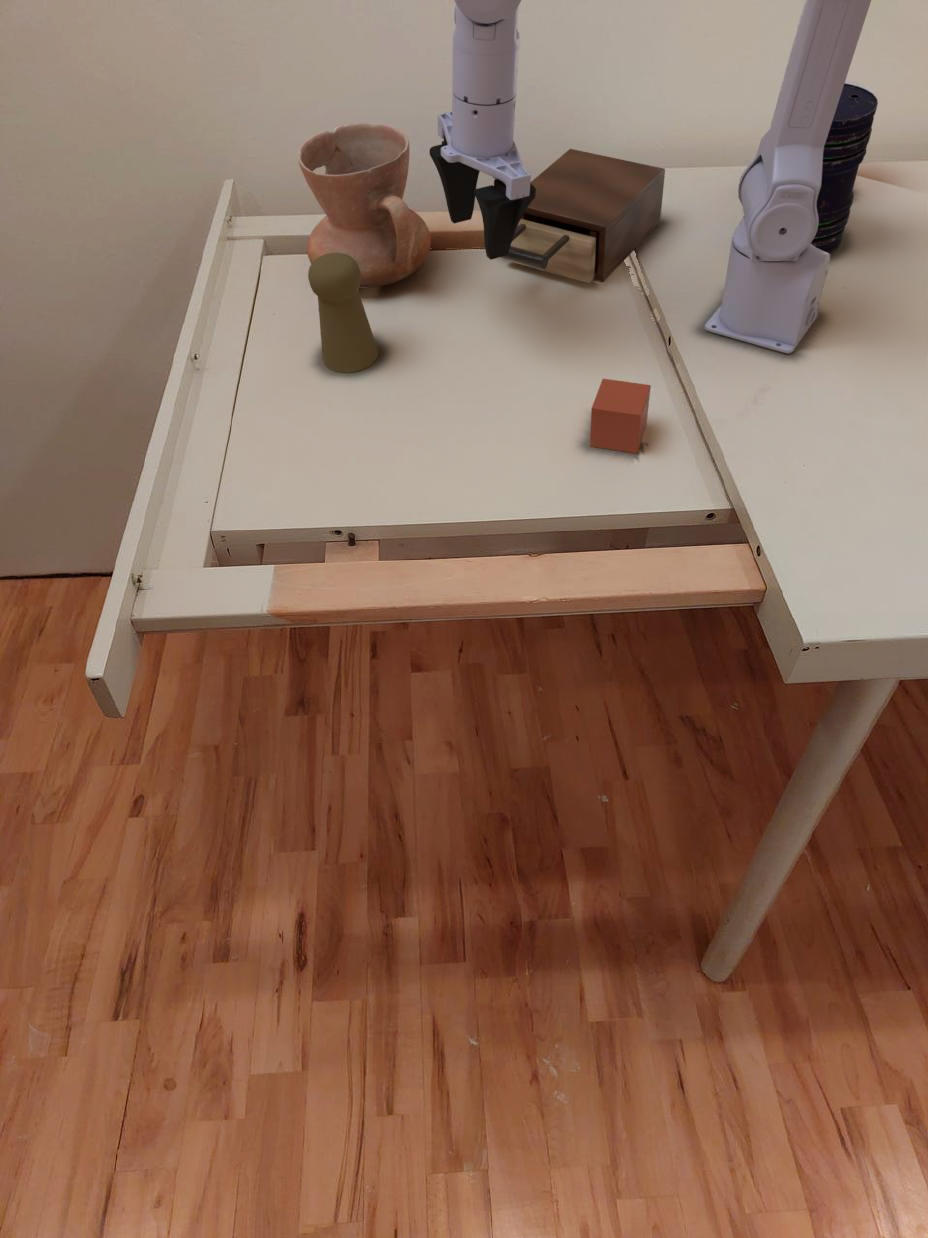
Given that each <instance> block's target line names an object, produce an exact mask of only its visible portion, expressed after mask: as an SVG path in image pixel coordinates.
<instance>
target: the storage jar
mask: <svg viewBox="0 0 928 1238" xmlns="http://www.w3.org/2000/svg"><path fill="white" fill-rule="evenodd" d="M878 104H879V101H878V98H877V96H875V93H874V94H873V93H871V92H870V91H868V90H866V89H864V88H861V87H859V86H855V85H851V84H846V83H844V86H843V89H842V92H841V96H840V99H839V102H838V105H837V108H836V111H835V114H834V117H833V120H832V123H831V127H830V130H829V133H828V136H827V139H826V142H825V145H824V150H823V165H822V181H821V188H820V191H819V194H818V198H817V205H816V207H817V213H818V217H819V224H818V229H817V232H816V235H815V237H814V239H813V240H812V242H811V244H812V245H813V246H815V247H816V248H818V249H820V250H822V251H825V252H827V253H829V254H830V255H833V254H834V253H835V252H836V251H838V250H839V248H840V246H841V244H842V240H843V233H844V232H845V229H846V226H847V225H848V222H849V218H850V214H851V208H852V206H853V203H854V197H855V195H854V194H855V193H854V187H855V183H856V180H857V179H856V178H857V175H858V171H859V168H860V165H861V164H862V163H863V161H864V159H865V156H866V154H867V150H868V149H867V147H868V144H869V143H870V140H871V137H872V136H871V135H872V132H873V128H872V127H873V124H874V118H875V117H874V116H875V115H876V112H877V109H878Z"/></svg>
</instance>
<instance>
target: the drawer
mask: <svg viewBox="0 0 928 1238" xmlns="http://www.w3.org/2000/svg"><path fill="white" fill-rule="evenodd" d="M598 249H599V231H595V230H591V229H587V228H583V227H579V226H575V225H571V224H567V223H562V222H558V221H554V220H550V219H546V218H542V217H538V216H534V215H530V214H526V213H524V214H523V216H522V217H521V219H520V222H519V224H518V226H517V229H516V231H515V234H514V237H513V240H512V243H511V246H510V249H509V252H508V255H507V256H503V257H499V259H503V260H504V261H508V262H511V263H514V264H518V265H521V266H524V267H525V266H526V267H529V268H532V269H537V270H540V271H543V272H546V273H551V274H554V275H558V276H562V277H565V278H569V279H572V280H577V281H580V282H584V283H587V284H590V283H591V282H592V281H594V280H593V279H594V271H595V268H596V267H597V266H598Z"/></svg>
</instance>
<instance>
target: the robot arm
mask: <svg viewBox="0 0 928 1238" xmlns="http://www.w3.org/2000/svg"><path fill="white" fill-rule="evenodd" d="M454 2H455V6H454V9H453V11H454V12H453V21H454V24H455V28H454V29H453V30H454V31H453V32H452V65H451V66H452V69H451V71H452V74H451V75H452V77H451V80H452V81H451V82H452V83H451V93H452V94H451V97H452V98H451V105H452V106H451V111H448V112H443V113H439V114H437V136H438V137H440V139H443V140H442V141H441V144H437V145H433V146H431V147H430V148H429V156H430V158H431V160H432V162H433V163H434V166H435V167H436V170H437V173H438V175H439V178H440V182H441V185H442V188H443V192H444V196H445V201H446V206H447V210H448V214H449V215H448V216H449V218H450V221H451V222H452V224H458V223H461V222H466V221H469V220H470V221H471V220H472V218H473V215H474V210H475V204H476V203H475V202H476V201H477V203H478V204H477V205H478V207H479V209H480V213H481V218H482V224H483V235H484V237H483V239H484V250H485V253H486V257H487V258H488V259H489V260H490V261H491V260H495V259H498V258H499V259H500V257H503V256H507V255H508V252H509V249H510V246H511V243H512V240H513V237H514V234H515V231H516V229H517V226H518V224H519V222H520V219H521V217H522V216H523V214H524V212H525V211H526V209H527V207H528V206H529V205H530V203H531V202H532V201H533V199H534V198H535V195H536V188H535V187H534V186H533V185H532V184H531V183H530V182H531V181H532V175H531V173H529V171H528V170H527V169H526V168H525V166H524V163H523V161H522V158H521V155H520V153H519V151H518V147H517V145H516V143H515V140H514V135H515V134H514V133H515V118H516V117H515V116H516V105H517V104H516V103H517V87H518V85H517V84H518V73H519V72H518V71H519V69H518V68H519V52H520V40H521V39H520V32H519V30H518V21H519V20H518V19H519V7H520V5H521V2H522V0H454ZM871 2H872V0H804V2H803V5H802V9H801V13H800V17H799V20H798V25H797V27H796V31H795V35H794V39H793V42H792V46H791V50H790V53H789V56H788V60H787V64H786V68H785V71H784V75H783V79H782V82H781V86H780V90H779V94H778V97H777V101H776V104H775V108H774V112H773V116H772V119H771V122H770V126H769V128H768V130H767V131H766V132H765V133H764V134H763V136H762V137H761V138H760V141H759V144H758V148H757V151H756V154H755V156H754V157H753V159H752V160H751V162H750V163H749V164H748V165H747V167H746V168H745V169H744V171H743V172H742V173H741V176H740V179H739V183H738V187H737V193H738V194H737V195H738V199H739V202H740V204H741V206H742V211H743V217H742V218H741V220H740V222H739V223H738V225H737V226H736V227H735V228H734V231H733V233H732V237H731V243H730V250H729V255H728V262H727V268H726V275H725V280H724V287H723V292H722V297H721V303H720V305H719V307H718V308H717V309H716V310H715V311H714V313H713V314H712V315H711V317H710V318H709V319H708V320H707V322H705V324H704V327H703V329H704V331H706V332H710V333H713V334H717V335H721V336H723V337H727V338H730V339H734V340H738V341H742V342H745V343H749V344H753V345H755V346H760V347H761V348H762V347H763V348H766V349H770V350H773V351H777V352H781V353H784V354H791V353H793V352H794V350H795V349H796V348H797V346H798V345H799V343H800V342H801V340H802V339H803V338H804V336H805V335H806V333H807V332H808V330H809V329H810V328H811V326H812V324H813V323H814V322H815V320H816V319H817V318H818V315H819V312H818V311H819V307H820V302H821V299H822V295H823V290H824V287H825V283H826V280H827V275H828V271H829V268H830V262H831V254H829V253H827V252H825V251H822V250H820V249H818V248H816V247H815V246H813V245H812V244H811V242H812V240H813V239H814V237H815V235H816V232H817V229H818V224H819V217H818V213H817V207H816V205H817V198H818V194H819V191H820V188H821V181H822V165H823V150H824V145H825V142H826V139H827V136H828V133H829V130H830V127H831V123H832V120H833V117H834V114H835V111H836V108H837V105H838V102H839V99H840V96H841V92H842V89H843V86H844V83H845V81H847V77H848V74H849V71H850V67H851V65H852V61H853V58H854V55H855V52H856V50H857V46H858V42H859V40H860V37H861V34H862V31H863V27H864V24H865V21H866V18H867V15H868V11H869V8H870V6H871V4H872V3H871ZM480 173H484V174H486V175H488V176H490V177H492V178H493V179H494V180H493V184H491V185H486V186H482V187H479V188H477V186H478V180H479V177H480V176H479V175H480Z"/></svg>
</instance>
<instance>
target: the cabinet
mask: <svg viewBox="0 0 928 1238" xmlns="http://www.w3.org/2000/svg"><path fill="white" fill-rule="evenodd" d="M665 175H666V168H663V167H658V166H654V165H649V164H644V163H640V162H634V161H631V160H625V159H620V158H616V157H611V156H607V155H602V154H597V153H593V152H589V151H582V150H578V149H573V148H569V149H568V150H566V151H565V152H564V153H563V154H562V155H561V156H560V157H558V158H557V159H555V161H554V162H552V163H551V164H550V165H549V166H548V167H547V168H545V169H544V171H542V172H540V173H539V174H538V175H537V176H536V177H535V178H534V179H532V180H531V182H530V183H531V184H532V185H533V186H534V187H535V188H536V195H535V198H534V199H533V201H532V202H531V203H530V205H529V206H528V207H527V209H526V211H525V212H524V213H526V214H530V215H534V216H538V217H542V218H546V219H550V220H554V221H558V222H562V223H567V224H571V225H575V226H579V227H583V228H587V229H591V230H595V231H599V249H598V266H597V267H596V268H595V271H594V279H593V280H592V281H597V282H601V283H604V282H605V281H606V280H607V279H608V278H609V277H610V276H611V275H612V274H613V273H614V272H615V271H616V270H617V269H618V268H619V267H620V266H621V265H622V263H623V262H624V261H625V260H626V259H627V258H628V257H629V256H630V255H631V254H632V253H633V251H635V250H636V249H637V248H638V247H639V246H640V245H641V244H642V243H643V242H644V241H645V239H647V238H648V237H649V236H650V234H651V233H653V231H654V230H655V229H656V228H657V227H658V226H659V225H660V224H661V217H662V216H661V215H662V206H663V197H664V196H663V195H664V188H665V187H664V185H665V178H666V176H665Z"/></svg>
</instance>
